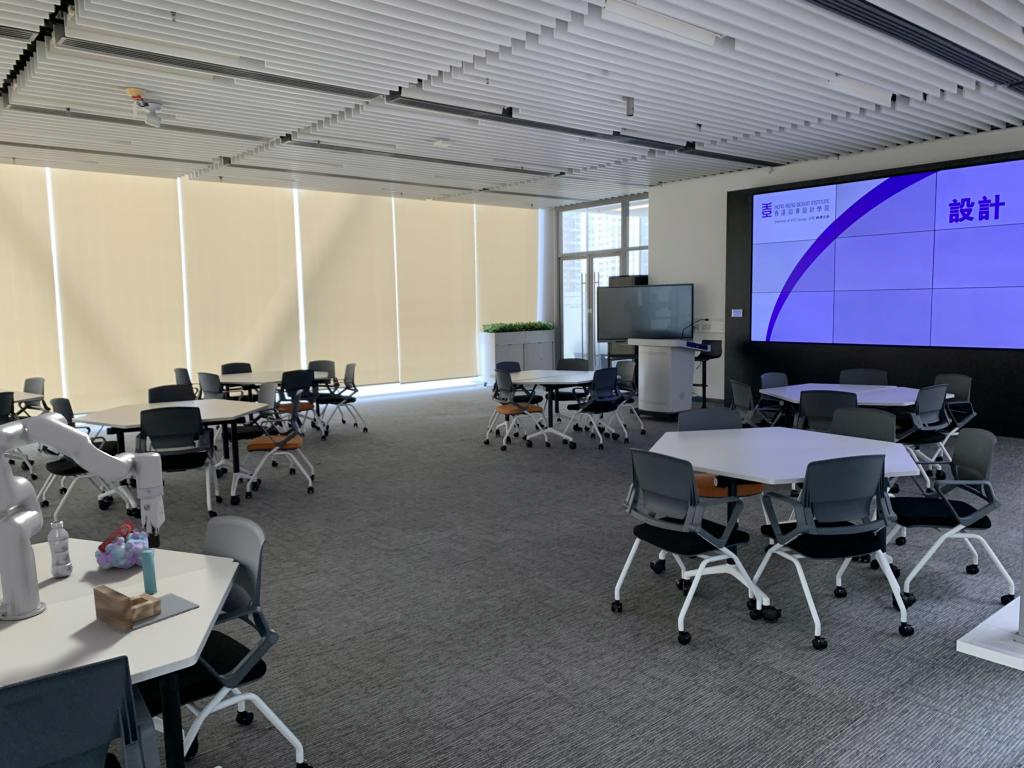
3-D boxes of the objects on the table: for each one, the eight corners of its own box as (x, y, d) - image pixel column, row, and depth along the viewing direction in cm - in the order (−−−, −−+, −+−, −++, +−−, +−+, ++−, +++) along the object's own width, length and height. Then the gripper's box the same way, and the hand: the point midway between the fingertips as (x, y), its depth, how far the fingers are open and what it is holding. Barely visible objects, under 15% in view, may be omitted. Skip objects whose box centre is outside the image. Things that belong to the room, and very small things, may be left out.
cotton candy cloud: (137, 563, 269) (147, 514, 277) (76, 563, 269) (87, 514, 276) (160, 575, 288) (169, 528, 295) (103, 575, 287) (113, 528, 295)
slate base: (122, 633, 222) (122, 632, 222) (96, 619, 233) (96, 617, 233) (199, 606, 240) (199, 605, 240) (171, 594, 251) (171, 593, 251)
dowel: (148, 595, 251) (144, 554, 250) (143, 593, 254) (138, 552, 252) (158, 591, 254) (154, 551, 253) (153, 589, 256) (149, 549, 255)
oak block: (128, 623, 227) (127, 610, 226) (113, 616, 233) (112, 603, 233) (161, 612, 234) (160, 599, 234) (146, 605, 241) (145, 593, 240)
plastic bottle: (66, 579, 270) (60, 524, 268) (47, 579, 270) (41, 525, 268) (77, 572, 276) (71, 519, 274) (58, 573, 277) (53, 519, 274)
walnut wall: (122, 632, 222) (119, 600, 220) (96, 617, 233) (93, 587, 232) (133, 628, 224) (130, 597, 223) (106, 614, 235) (103, 584, 234)
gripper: (157, 496, 237) (161, 553, 239) (168, 485, 251) (172, 539, 253) (131, 498, 235) (135, 555, 237) (143, 486, 250) (147, 541, 252)
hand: (154, 547), depth 245 cm, fingers closed
